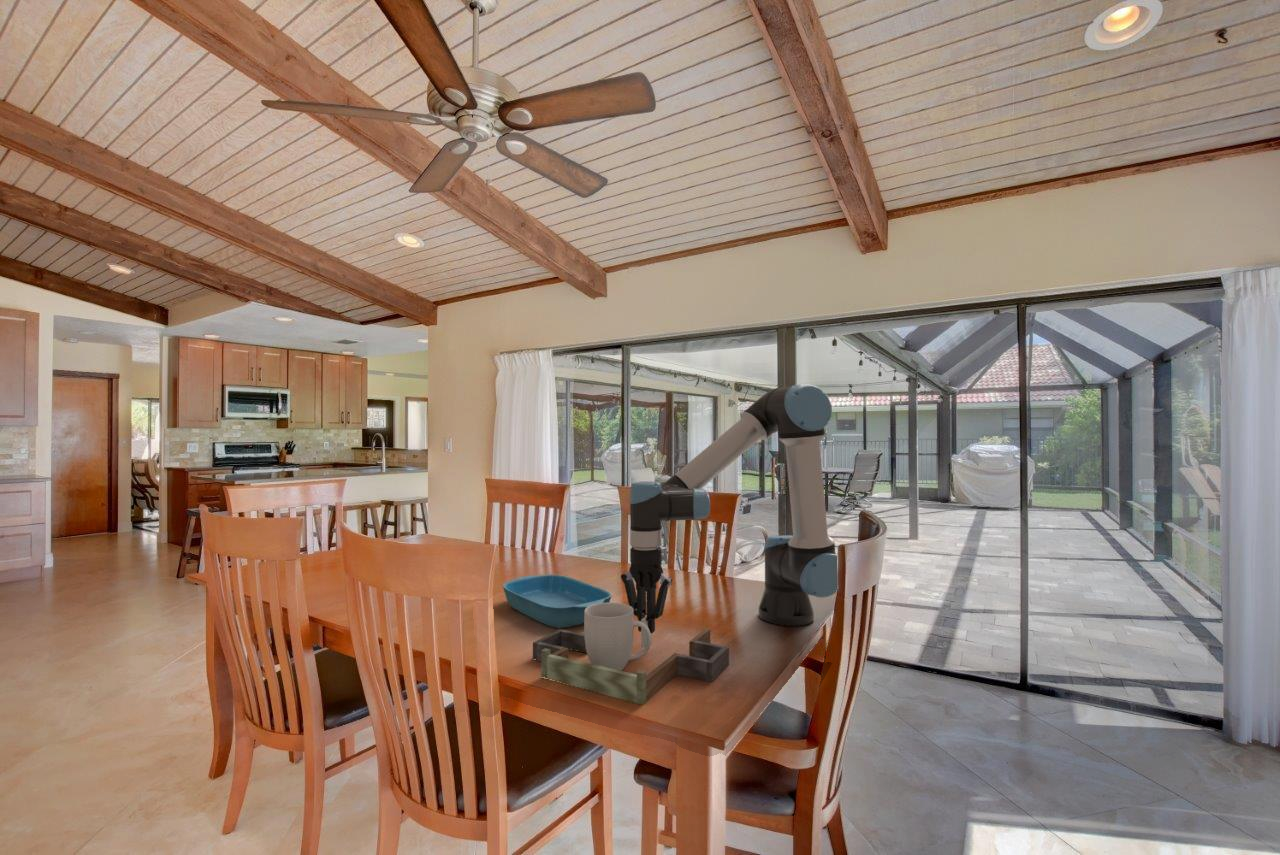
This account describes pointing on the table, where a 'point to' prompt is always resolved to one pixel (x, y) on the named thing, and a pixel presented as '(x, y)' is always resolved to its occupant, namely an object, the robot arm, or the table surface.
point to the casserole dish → (553, 598)
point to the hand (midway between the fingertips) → (646, 645)
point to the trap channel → (619, 684)
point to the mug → (611, 634)
